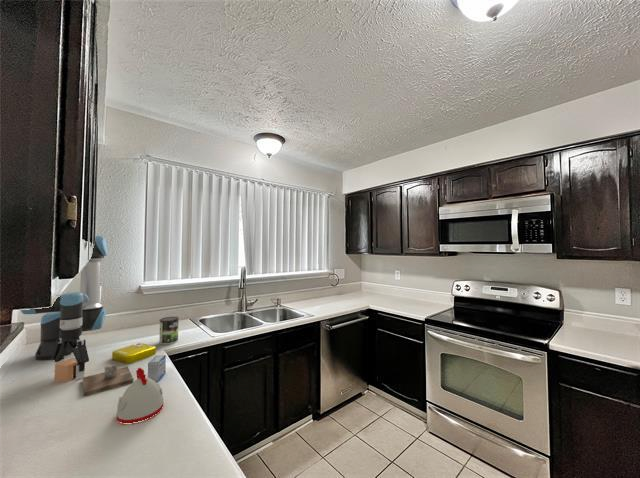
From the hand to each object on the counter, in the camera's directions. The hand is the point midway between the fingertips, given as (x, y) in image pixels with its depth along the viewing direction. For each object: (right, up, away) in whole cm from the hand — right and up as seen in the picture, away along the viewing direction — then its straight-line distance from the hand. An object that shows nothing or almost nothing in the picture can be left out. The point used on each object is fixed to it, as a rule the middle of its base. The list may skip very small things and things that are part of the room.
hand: (69, 377), depth 120 cm
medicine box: (+39, -1, 0) cm, 39 cm away
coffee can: (+19, -1, +45) cm, 49 cm away
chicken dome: (+48, 0, -24) cm, 54 cm away
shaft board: (+20, 0, -3) cm, 20 cm away
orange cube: (0, 0, 0) cm, 0 cm away
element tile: (+13, -1, +23) cm, 26 cm away
